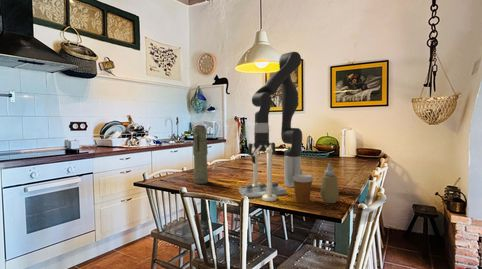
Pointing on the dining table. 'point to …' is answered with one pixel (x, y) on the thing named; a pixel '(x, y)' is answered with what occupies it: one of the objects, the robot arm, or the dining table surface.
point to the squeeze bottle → (329, 186)
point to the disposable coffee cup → (302, 187)
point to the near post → (269, 178)
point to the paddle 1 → (249, 186)
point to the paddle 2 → (274, 184)
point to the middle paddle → (262, 185)
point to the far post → (255, 170)
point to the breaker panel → (261, 191)
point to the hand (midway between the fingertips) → (261, 162)
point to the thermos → (200, 155)
